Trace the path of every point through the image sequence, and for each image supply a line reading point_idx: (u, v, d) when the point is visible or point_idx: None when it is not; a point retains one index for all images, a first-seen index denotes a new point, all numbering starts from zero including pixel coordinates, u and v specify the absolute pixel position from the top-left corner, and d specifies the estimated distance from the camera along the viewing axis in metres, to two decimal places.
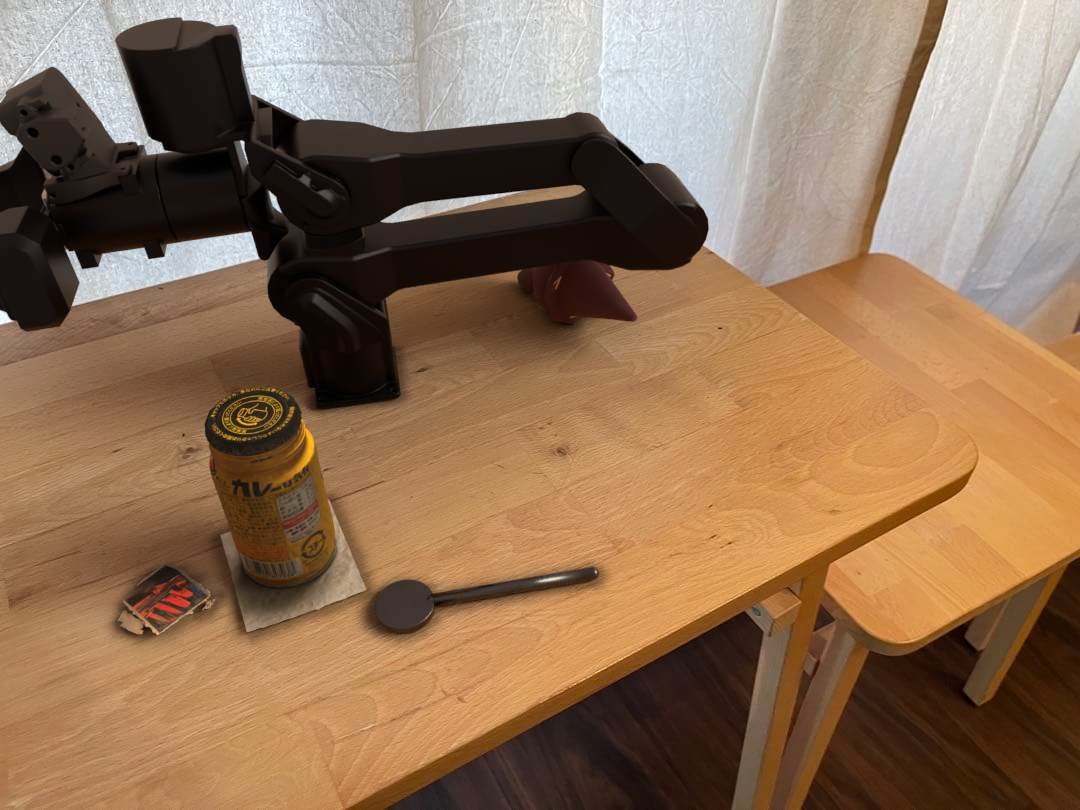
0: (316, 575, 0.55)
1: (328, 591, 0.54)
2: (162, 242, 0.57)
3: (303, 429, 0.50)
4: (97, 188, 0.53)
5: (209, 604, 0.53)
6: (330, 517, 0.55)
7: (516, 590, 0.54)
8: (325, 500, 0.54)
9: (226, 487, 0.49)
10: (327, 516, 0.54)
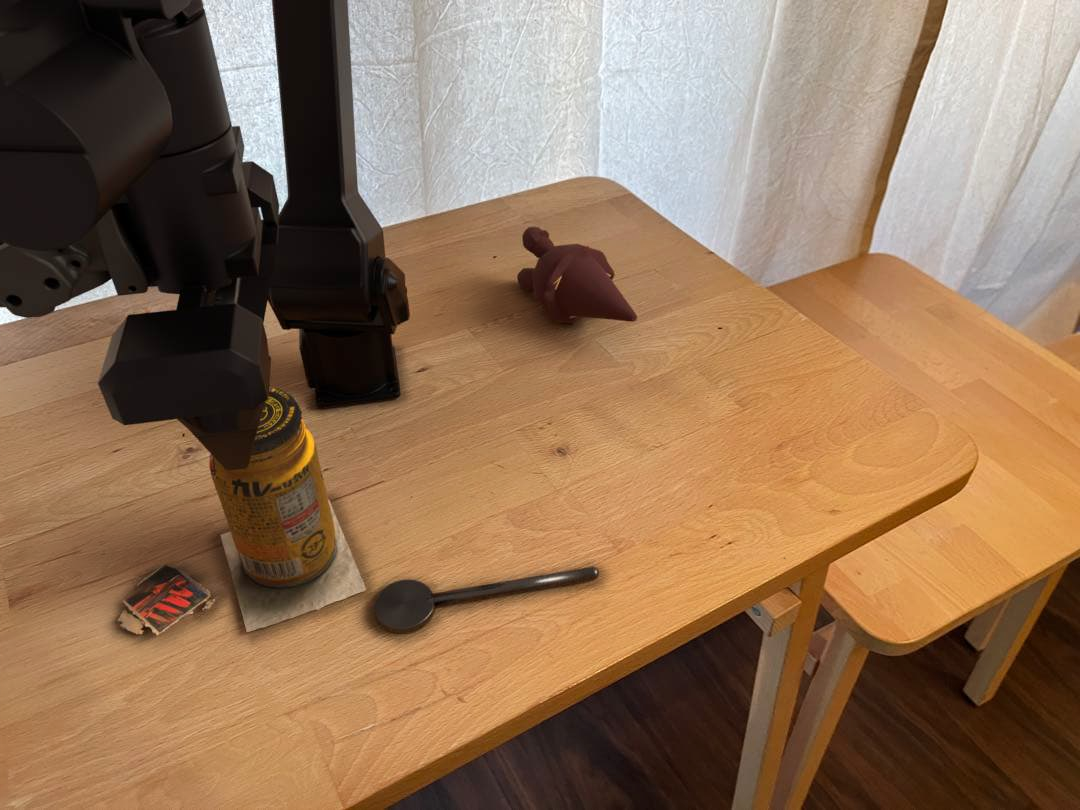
0: (316, 575, 0.55)
1: (328, 591, 0.54)
2: (212, 166, 0.37)
3: (303, 429, 0.50)
4: (115, 235, 0.37)
5: (209, 604, 0.53)
6: (330, 517, 0.55)
7: (516, 590, 0.54)
8: (325, 500, 0.54)
9: (226, 487, 0.49)
10: (327, 516, 0.54)
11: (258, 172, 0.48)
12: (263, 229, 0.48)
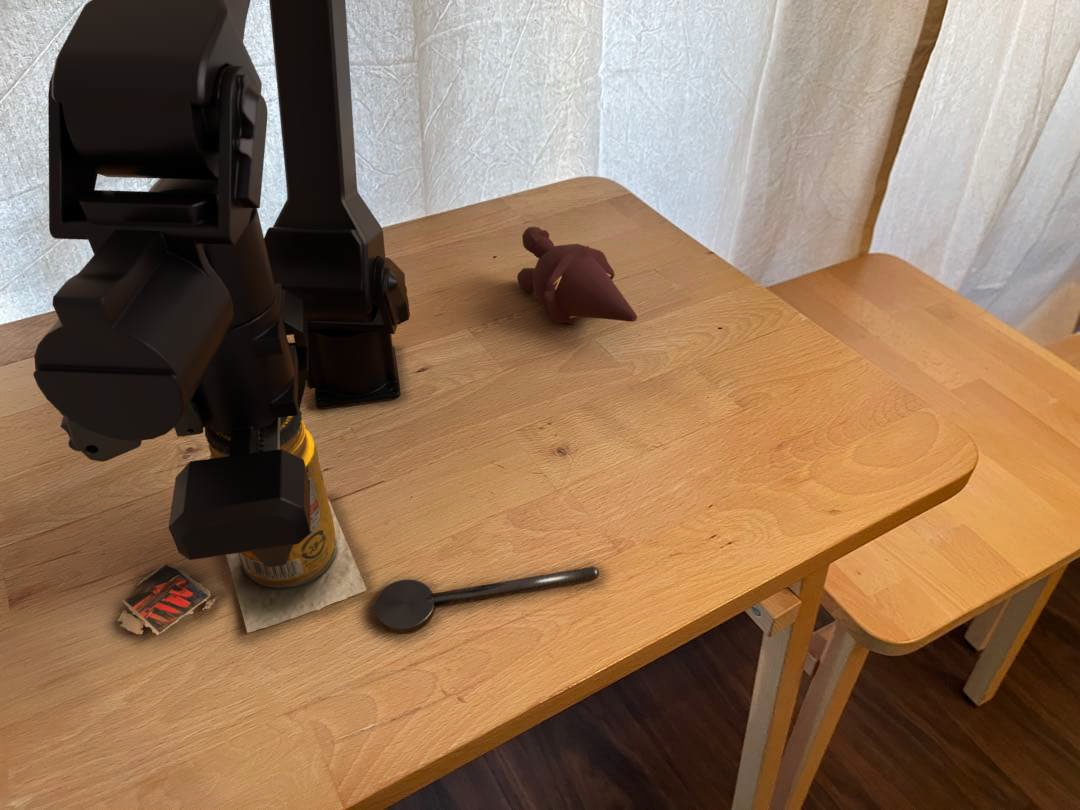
0: (316, 576, 0.55)
1: (328, 592, 0.54)
2: (261, 333, 0.43)
3: (303, 430, 0.50)
4: None
5: (209, 604, 0.53)
6: (330, 517, 0.55)
7: (516, 590, 0.54)
8: (325, 501, 0.54)
9: None
10: (327, 516, 0.54)
11: (290, 300, 0.53)
12: None
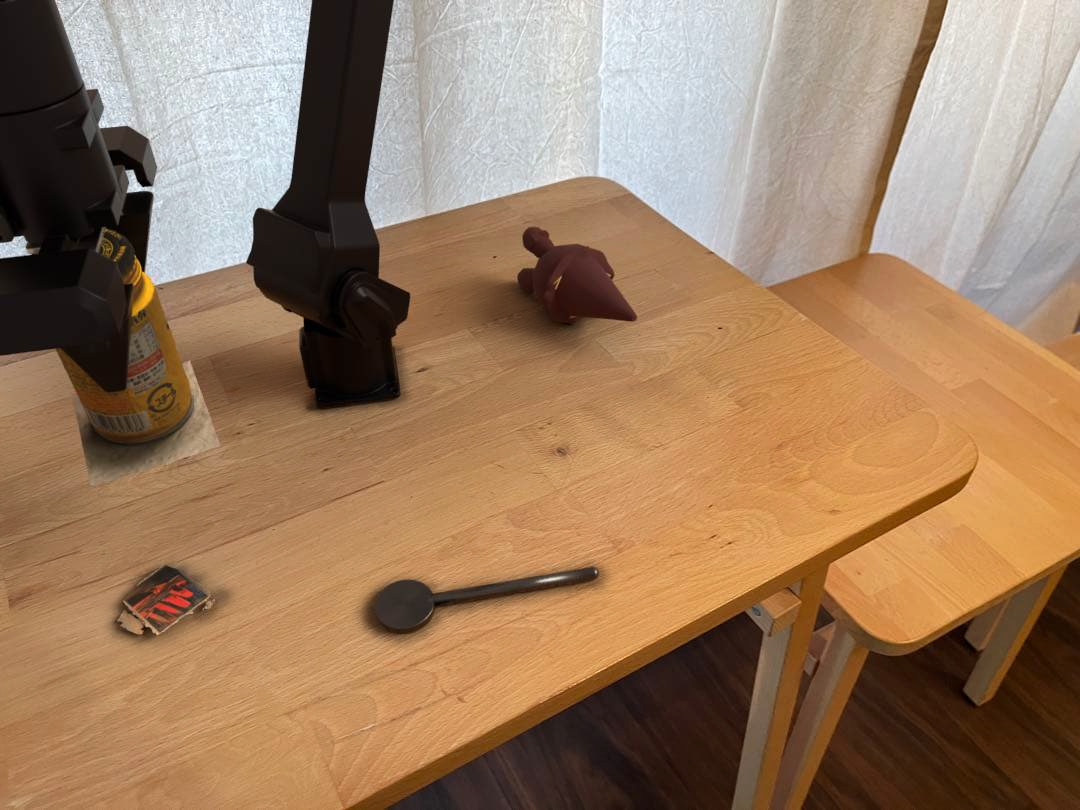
0: (169, 432, 0.53)
1: (180, 447, 0.52)
2: (63, 123, 0.41)
3: (138, 271, 0.48)
4: None
5: (209, 604, 0.53)
6: (181, 371, 0.53)
7: (516, 590, 0.54)
8: (172, 352, 0.51)
9: None
10: (176, 369, 0.52)
11: (132, 135, 0.51)
12: (137, 200, 0.51)
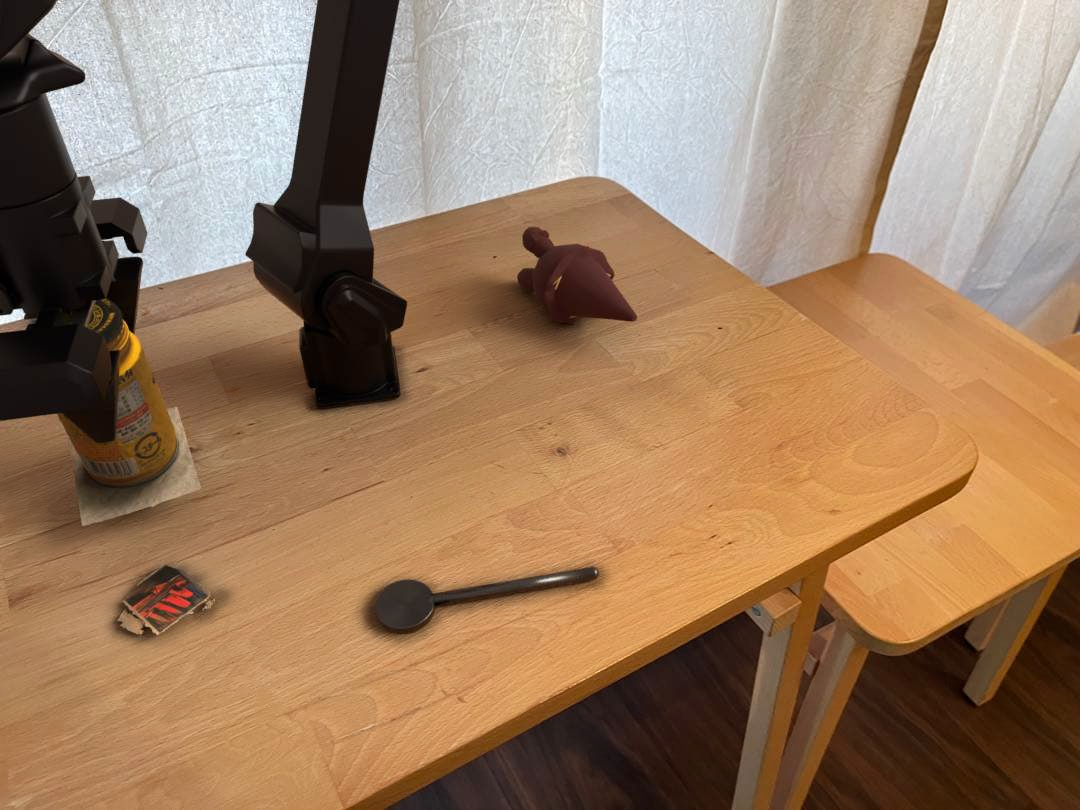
0: (155, 475, 0.58)
1: (165, 490, 0.58)
2: (57, 213, 0.46)
3: (125, 335, 0.53)
4: None
5: (209, 604, 0.53)
6: (166, 421, 0.58)
7: (516, 590, 0.54)
8: (158, 404, 0.56)
9: None
10: (162, 419, 0.57)
11: (124, 207, 0.56)
12: (128, 266, 0.56)
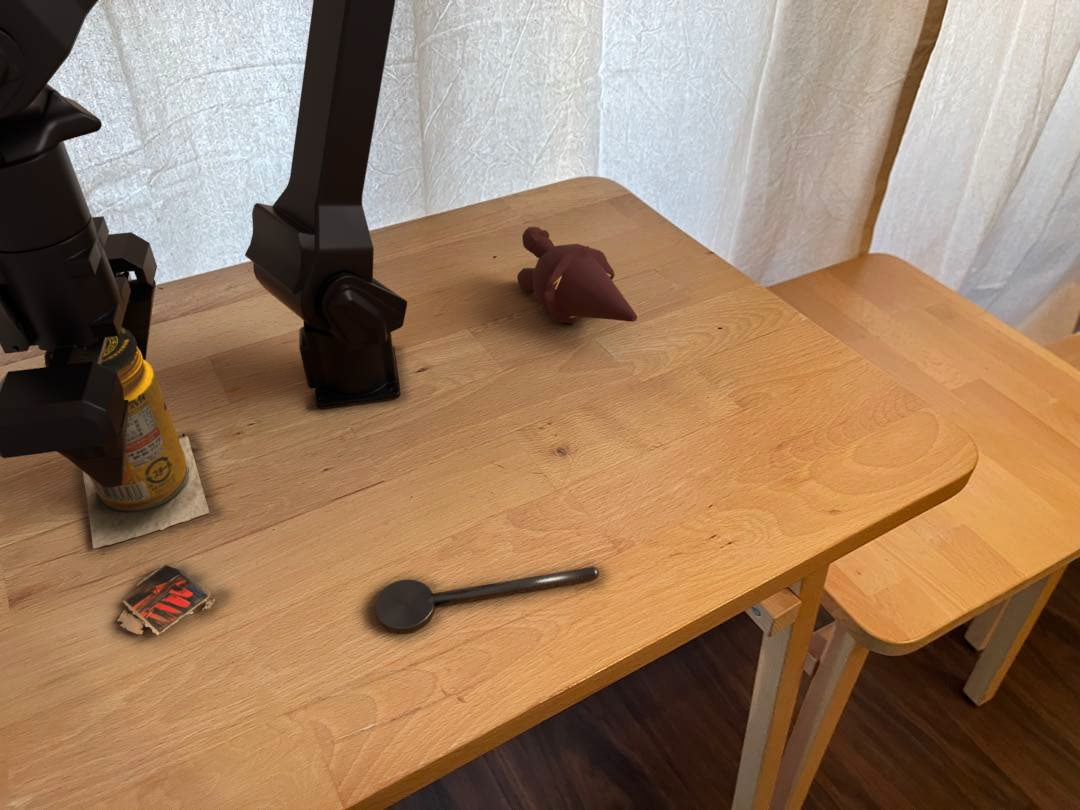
0: (165, 501, 0.60)
1: (174, 514, 0.59)
2: (73, 255, 0.47)
3: (139, 360, 0.55)
4: None
5: (209, 604, 0.53)
6: (177, 447, 0.60)
7: (516, 590, 0.54)
8: (169, 429, 0.58)
9: None
10: (172, 445, 0.59)
11: (135, 242, 0.58)
12: (141, 287, 0.59)
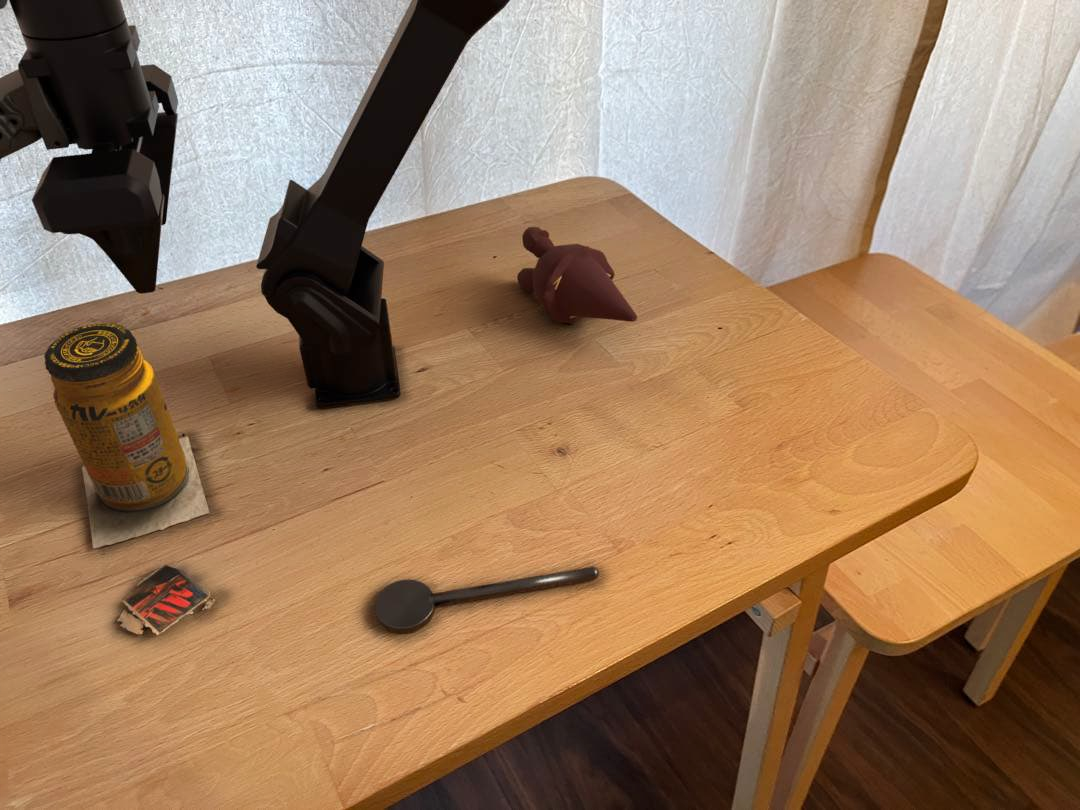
0: (165, 501, 0.60)
1: (174, 514, 0.59)
2: (111, 48, 0.51)
3: (139, 360, 0.55)
4: (42, 101, 0.51)
5: (209, 604, 0.53)
6: (177, 446, 0.60)
7: (516, 590, 0.54)
8: (169, 429, 0.58)
9: (66, 412, 0.54)
10: (172, 445, 0.59)
11: (158, 72, 0.61)
12: (165, 118, 0.62)
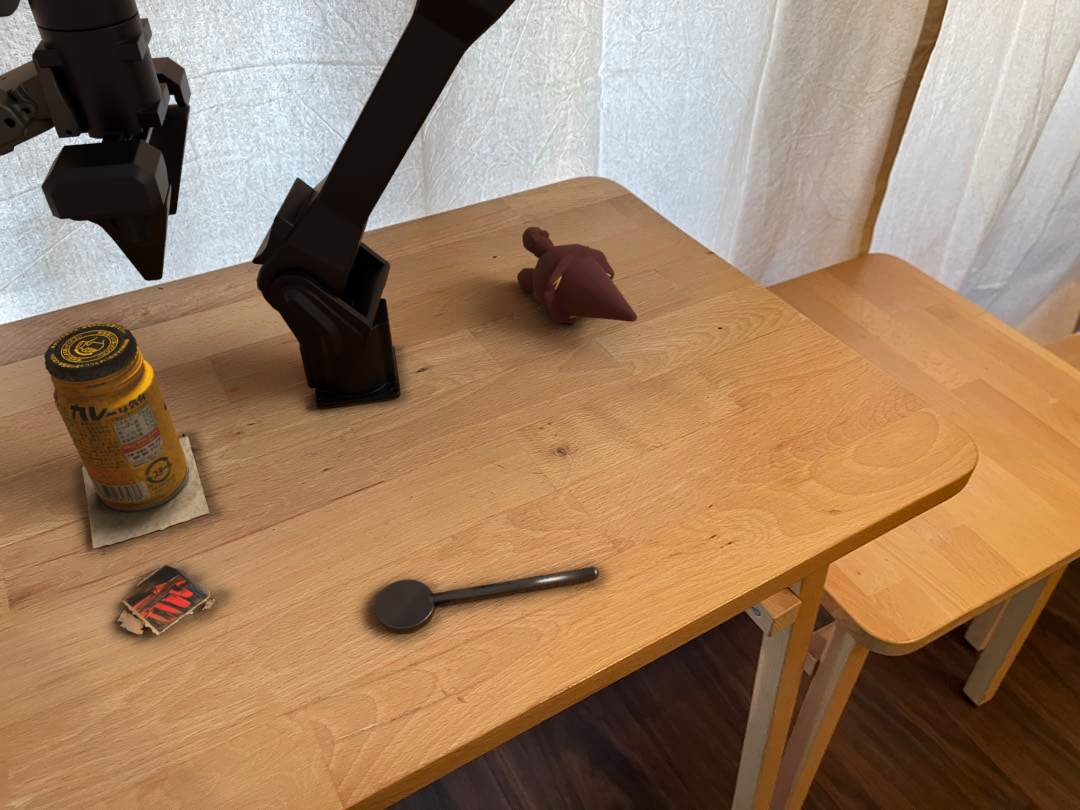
0: (165, 501, 0.60)
1: (174, 514, 0.59)
2: (122, 40, 0.52)
3: (139, 360, 0.55)
4: (55, 90, 0.52)
5: (209, 604, 0.53)
6: (177, 446, 0.60)
7: (516, 590, 0.54)
8: (169, 429, 0.58)
9: (66, 412, 0.54)
10: (172, 445, 0.59)
11: (172, 64, 0.63)
12: (177, 109, 0.64)
